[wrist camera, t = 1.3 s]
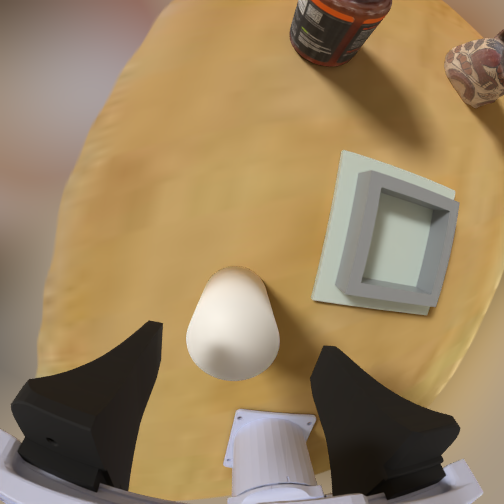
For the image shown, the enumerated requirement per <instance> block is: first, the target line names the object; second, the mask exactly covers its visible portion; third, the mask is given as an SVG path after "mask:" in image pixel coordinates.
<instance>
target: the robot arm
mask: <svg viewBox="0 0 504 504" xmlns="http://www.w3.org/2000/svg"><path fill="white" fill-rule="evenodd" d="M162 330H163V323H159V322H154V321H148V322H146V323H145V324H144V325H143V326H142V327H141V328H140V329H138V330H137V331H136V332H135V333H134V334H132V335H131V336H130V337H129V338H127V339H126V340H125V341H124V342H122V343H121V344H120V345H118V346H117V347H115V348H114V349H112V350H111V351H109V352H108V353H106V354H105V355H103V356H101V357H100V358H98V359H96V360H94V361H92V362H90V363H87V364H85V365H83V366H80V367H78V368H75V369H73V370H70V371H67V372H63V373H60V374H56V375H52V376H47V377H41V378H35V379H29V380H28V381H27V382H26V384H25V385H24V386H23V387H22V389H21V390H20V392H19V393H18V395H17V396H16V398H15V399H14V401H13V403H12V404H11V410H12V413H13V416H14V418H15V420H16V422H17V423H18V425H19V427H20V429H21V431H22V432H23V434H24V436H25V438H24V440H23V442H22V443H21V442H20V441H19V440H18V439H17V438H16V437H14V436H13V435H11V434H9V433H7V432H6V431H4V430H2V429H1V428H0V500H1V501H3V502H4V503H5V504H188V503H181V502H175V501H169V500H164V499H158V498H154V497H149V496H144V495H140V494H136V493H132V492H128V489H129V481H130V474H131V467H132V461H133V455H134V450H135V445H136V440H137V435H138V431H139V426H140V422H141V419H142V416H143V413H144V410H145V408H146V405H147V402H148V400H149V397H150V394H151V392H152V389H153V386H154V384H155V381H156V378H157V374H158V370H159V366H160V362H161V349H162ZM310 381H311V388H312V394H313V398H314V402H315V405H316V408H317V411H318V415H319V418H320V421H321V424H322V427H323V430H324V433H325V437H326V442H327V447H328V453H329V460H330V468H331V478H332V493H330V494H326V495H325V496H324V494H323V490H322V486H321V485H318V486H317V482H316V479H315V475H314V471H313V467H312V464H311V460H310V456H309V453H308V449H307V445H306V441H307V439H308V437H309V434H310V432H311V430H312V428H313V426H314V423H315V421H316V417H315V415H308V414H289V413H275V412H264V411H255V410H246V409H238V410H237V411H236V413H235V417H234V421H233V425H232V430H231V434H230V438H229V442H228V446H227V450H226V454H225V458H224V463H223V465H224V466H226V467H232V497H229V498H228V501H227V502H228V503H227V504H471V503H472V502H474V501H475V500H476V499H477V498H479V497H480V496H481V495H482V494H483V491H482V489H481V487H480V485H479V484H478V482H477V480H476V478H475V477H474V475H473V473H472V472H471V470H470V468H469V467H468V465H467V464H466V462H465V460H464V459H460V460H458V461H456V462H453V463H451V464H449V465H447V466H445V467H444V468H442V466H441V463H442V462H443V458H442V456H441V455H442V454H443V453H444V452H445V451H446V449H447V448H448V447H449V446H450V445H451V444H452V443H453V442H454V440H455V439H456V438H457V436H458V434H459V432H460V427H459V425H458V424H457V423H456V421H455V419H454V418H453V417H452V416H450V415H447V414H443V413H439V412H435V411H432V410H429V409H427V408H424V407H421V406H419V405H417V404H414V403H412V402H410V401H408V400H406V399H404V398H402V397H401V396H399V395H397V394H395V393H394V392H392V391H391V390H389V389H387V388H386V387H384V386H383V385H382V384H380V383H379V382H378V381H376V380H375V379H374V378H372V377H371V376H370V375H369V374H367V373H366V372H365V371H364V370H363V369H361V368H360V367H359V366H358V365H357V364H356V363H355V362H353V361H352V360H351V359H350V358H349V357H348V356H347V355H345V354H344V353H343V352H342V351H341V350H340V349H338V348H337V347H335V346H323V348H322V351H321V353H320V356H319V358H318V361H317V363H316V365H315V368H314V370H313V373H312V375H311V377H310ZM239 417H241V418H239ZM309 422H310V423H309Z"/></svg>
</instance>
